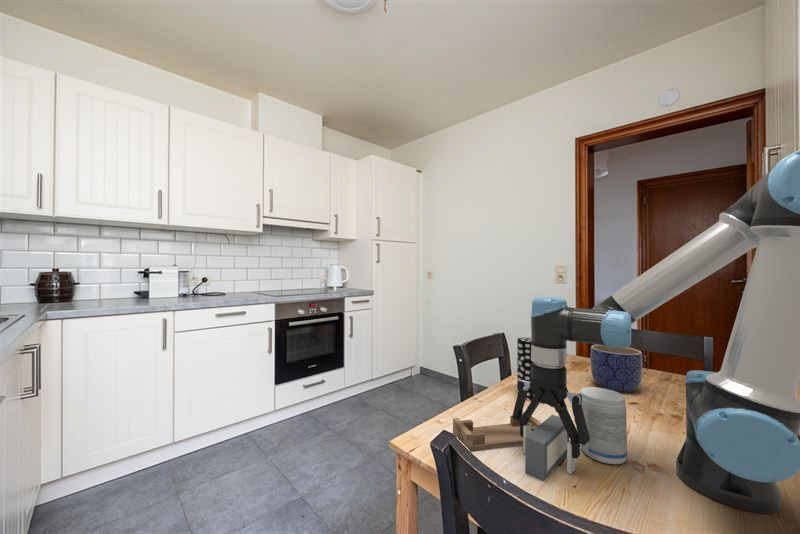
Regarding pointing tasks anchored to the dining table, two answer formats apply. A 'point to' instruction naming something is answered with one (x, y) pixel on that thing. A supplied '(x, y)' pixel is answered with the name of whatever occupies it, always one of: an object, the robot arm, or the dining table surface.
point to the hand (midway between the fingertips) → (548, 460)
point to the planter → (616, 368)
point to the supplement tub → (605, 425)
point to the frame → (545, 448)
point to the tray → (490, 434)
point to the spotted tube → (524, 363)
